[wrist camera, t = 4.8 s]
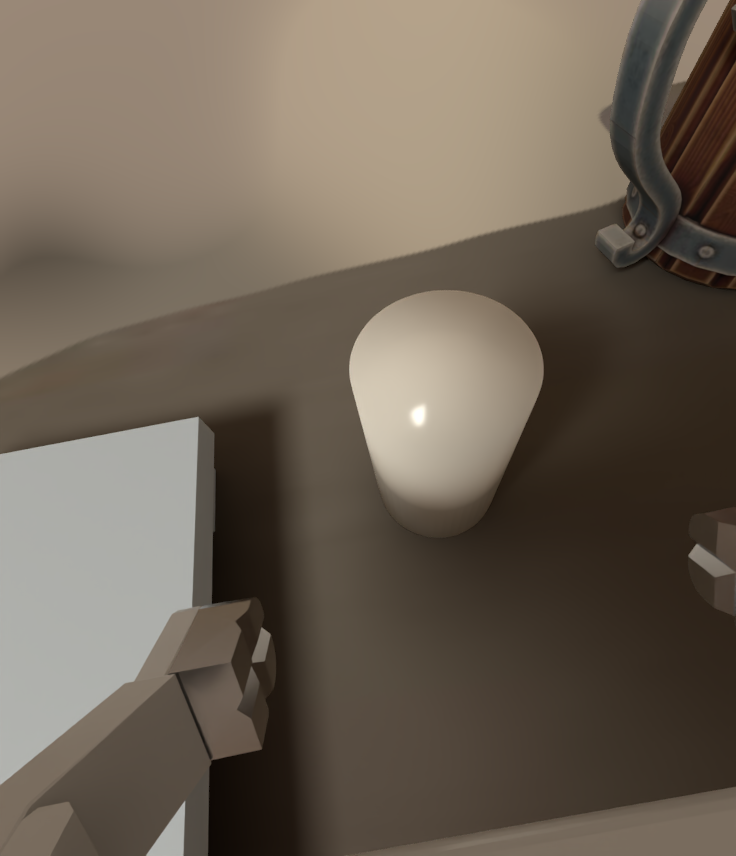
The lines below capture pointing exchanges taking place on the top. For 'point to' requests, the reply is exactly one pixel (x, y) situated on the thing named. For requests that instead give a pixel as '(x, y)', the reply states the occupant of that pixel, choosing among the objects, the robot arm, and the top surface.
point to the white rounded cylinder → (443, 404)
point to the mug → (676, 147)
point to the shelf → (100, 581)
